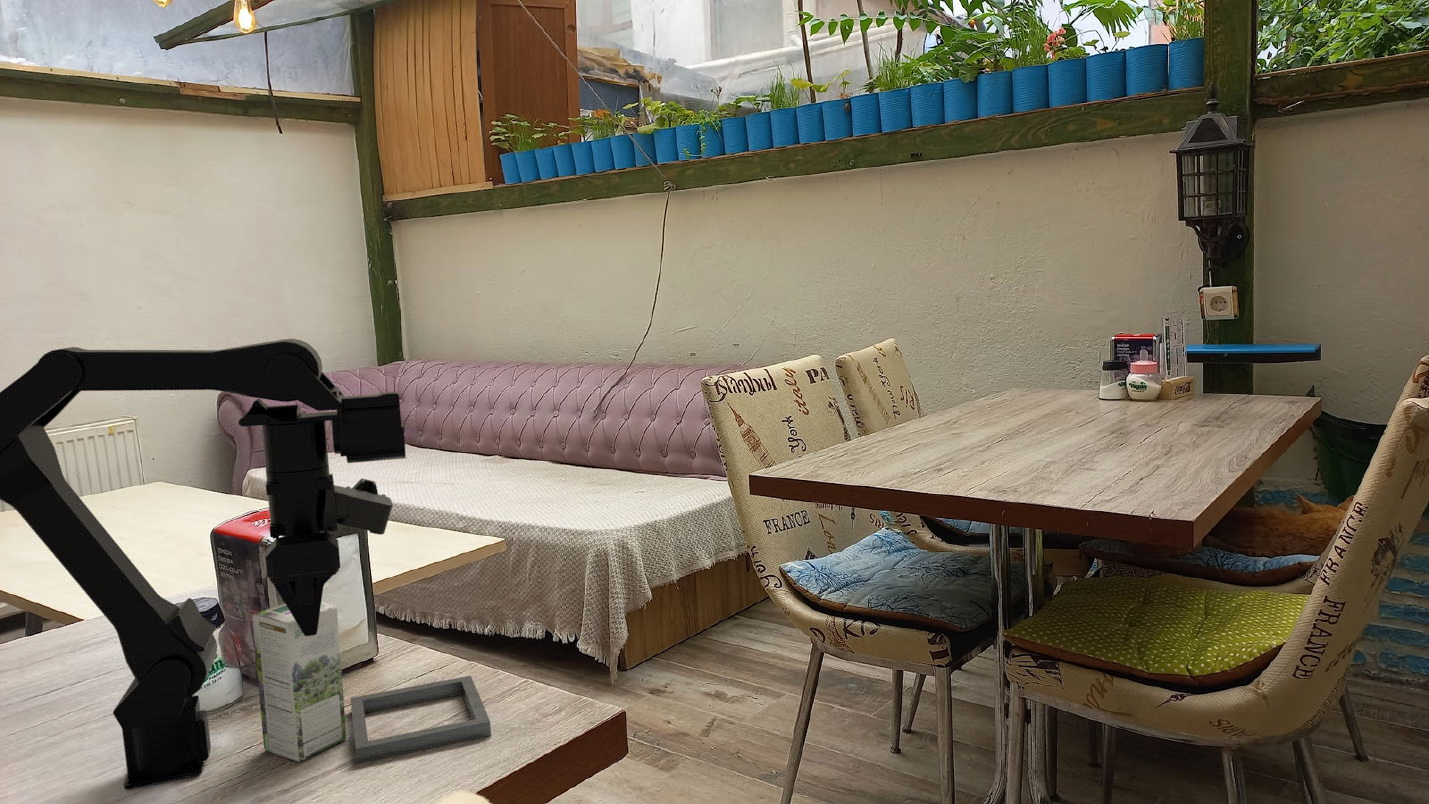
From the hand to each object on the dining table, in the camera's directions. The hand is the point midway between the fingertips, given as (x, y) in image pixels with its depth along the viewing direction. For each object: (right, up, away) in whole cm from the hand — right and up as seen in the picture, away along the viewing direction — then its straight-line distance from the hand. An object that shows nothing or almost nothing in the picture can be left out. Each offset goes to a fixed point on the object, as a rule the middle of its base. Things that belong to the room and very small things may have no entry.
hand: (310, 620), depth 97 cm
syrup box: (-1, -13, +1) cm, 13 cm away
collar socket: (+9, -12, +5) cm, 16 cm away
